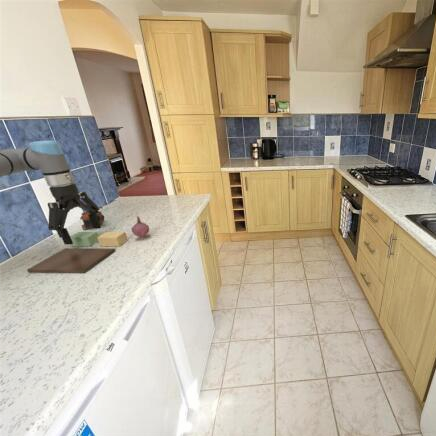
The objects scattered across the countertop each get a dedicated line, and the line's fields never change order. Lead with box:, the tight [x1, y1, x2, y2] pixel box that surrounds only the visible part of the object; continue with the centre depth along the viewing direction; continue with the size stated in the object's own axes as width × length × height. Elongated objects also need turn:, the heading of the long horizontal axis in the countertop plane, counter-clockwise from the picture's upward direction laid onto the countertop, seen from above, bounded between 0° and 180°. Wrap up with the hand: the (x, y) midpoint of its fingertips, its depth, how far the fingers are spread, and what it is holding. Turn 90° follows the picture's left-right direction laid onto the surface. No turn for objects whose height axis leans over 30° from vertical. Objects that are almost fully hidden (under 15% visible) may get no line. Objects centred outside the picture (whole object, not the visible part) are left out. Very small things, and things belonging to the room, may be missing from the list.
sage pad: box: [70, 231, 100, 247], centre depth 98 cm, size 8×5×4 cm, turn 87°
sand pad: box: [97, 231, 129, 247], centre depth 98 cm, size 8×5×4 cm, turn 87°
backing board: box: [26, 247, 116, 274], centre depth 87 cm, size 20×14×1 cm
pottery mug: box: [79, 210, 105, 231], centre depth 115 cm, size 12×10×8 cm
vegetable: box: [131, 215, 150, 238], centre depth 100 cm, size 6×6×10 cm
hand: (84, 235), depth 98 cm, fingers open, 13 cm apart
